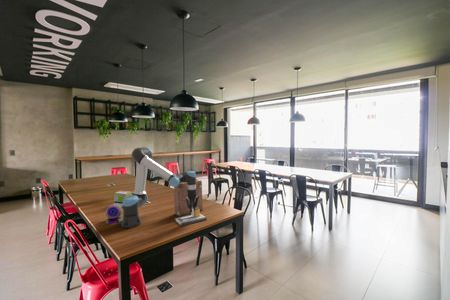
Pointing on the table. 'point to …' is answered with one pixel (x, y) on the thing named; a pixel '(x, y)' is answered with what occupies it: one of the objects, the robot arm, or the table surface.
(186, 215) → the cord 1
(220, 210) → the table surface
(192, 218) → the panel
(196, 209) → the lever
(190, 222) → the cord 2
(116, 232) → the table surface
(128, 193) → the tea box
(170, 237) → the table surface
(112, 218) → the webcam
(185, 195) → the book
